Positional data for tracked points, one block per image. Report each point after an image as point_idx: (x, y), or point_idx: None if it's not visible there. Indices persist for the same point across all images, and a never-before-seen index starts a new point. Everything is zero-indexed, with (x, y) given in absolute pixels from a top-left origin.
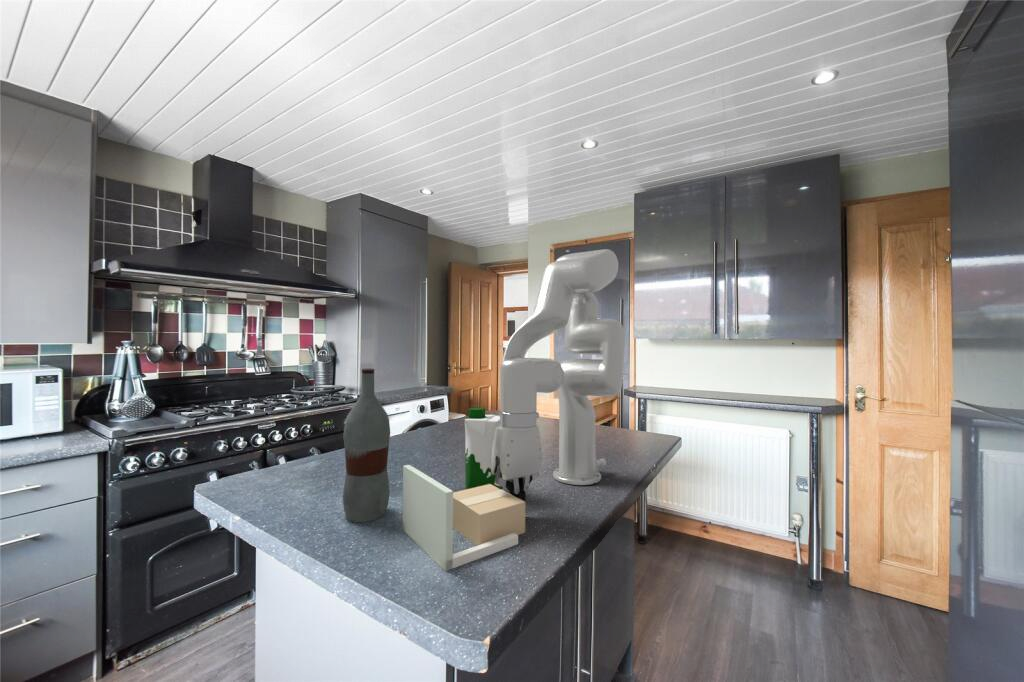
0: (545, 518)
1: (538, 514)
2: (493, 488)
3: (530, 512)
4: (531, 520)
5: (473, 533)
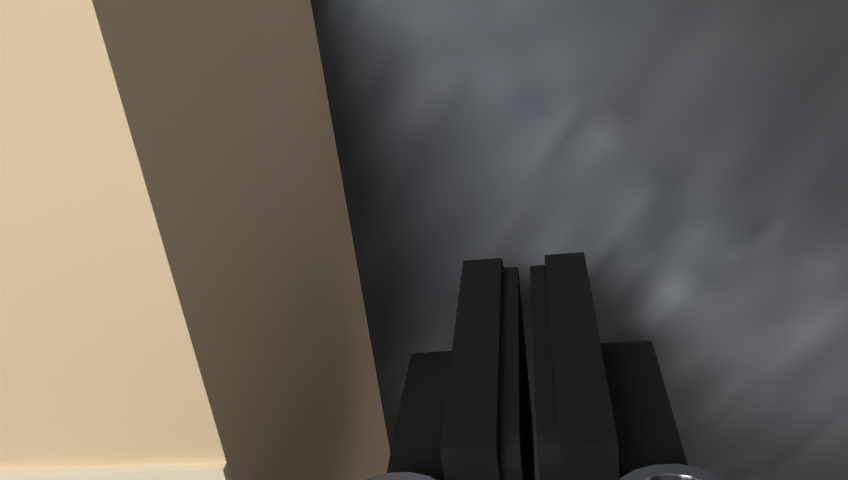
0: (804, 466)
1: (824, 353)
2: (72, 308)
3: (784, 257)
4: None
5: None
